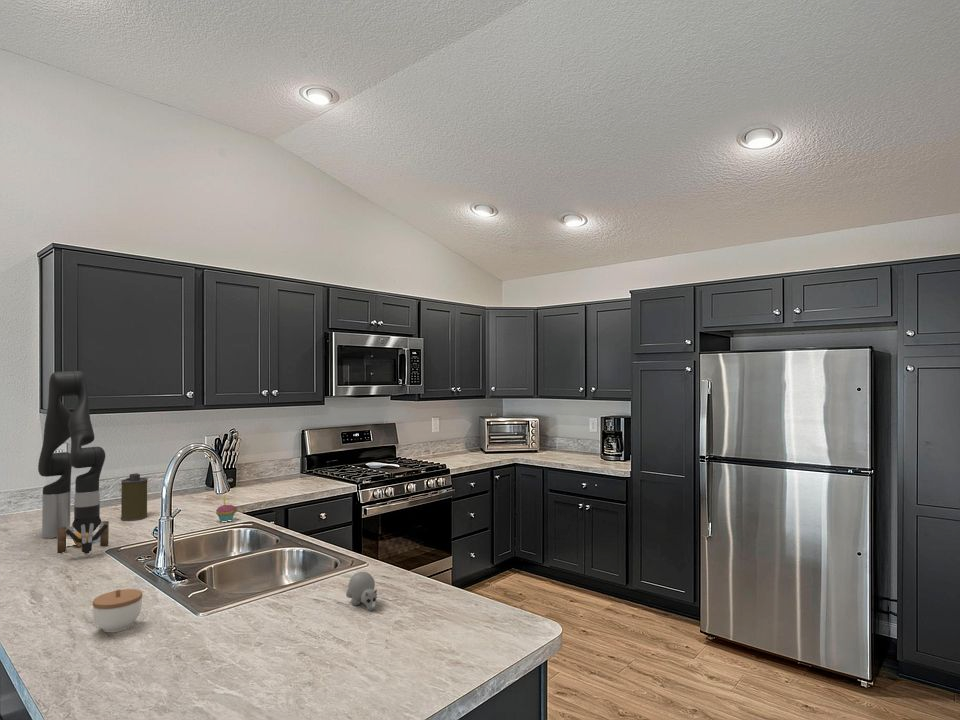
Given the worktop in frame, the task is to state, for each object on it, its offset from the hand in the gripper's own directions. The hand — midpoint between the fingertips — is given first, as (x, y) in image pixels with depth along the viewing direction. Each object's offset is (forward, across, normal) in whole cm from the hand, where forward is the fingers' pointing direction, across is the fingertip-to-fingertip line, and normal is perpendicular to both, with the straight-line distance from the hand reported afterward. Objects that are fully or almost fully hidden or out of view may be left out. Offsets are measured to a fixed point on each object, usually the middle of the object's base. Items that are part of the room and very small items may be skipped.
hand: (86, 553), depth 206 cm
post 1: (+2, +7, -13) cm, 15 cm away
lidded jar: (+2, -1, +75) cm, 75 cm away
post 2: (+2, -7, -13) cm, 15 cm away
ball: (-2, 0, -18) cm, 18 cm away
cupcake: (+2, -53, -23) cm, 58 cm away
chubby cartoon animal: (+2, -56, +102) cm, 116 cm away
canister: (+2, -22, -56) cm, 60 cm away
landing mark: (+2, 0, -26) cm, 27 cm away
